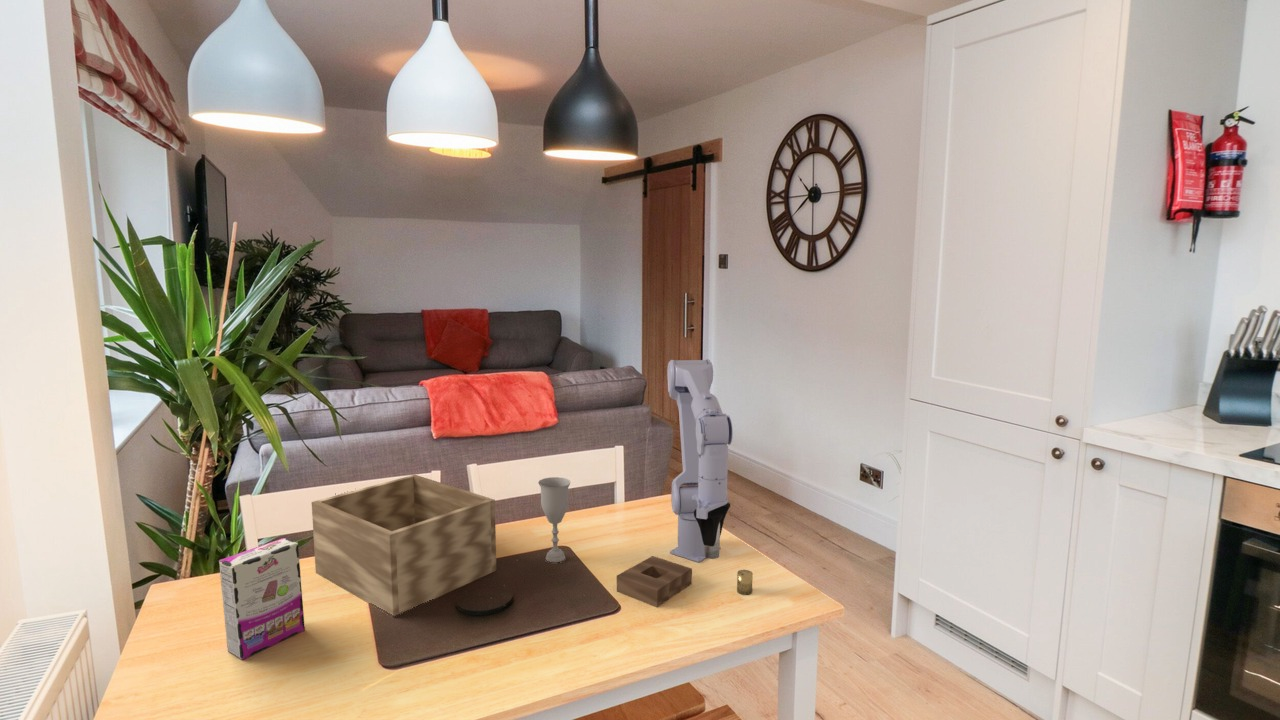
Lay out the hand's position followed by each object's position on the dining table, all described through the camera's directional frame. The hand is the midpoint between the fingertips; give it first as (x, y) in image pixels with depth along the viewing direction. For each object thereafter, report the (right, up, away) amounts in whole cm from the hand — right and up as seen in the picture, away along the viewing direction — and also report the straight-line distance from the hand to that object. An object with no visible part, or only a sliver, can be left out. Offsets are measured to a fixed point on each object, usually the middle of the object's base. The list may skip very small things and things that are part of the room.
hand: (711, 541), depth 134 cm
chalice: (-33, -8, +14) cm, 37 cm away
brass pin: (+7, -10, 0) cm, 12 cm away
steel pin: (0, -3, 0) cm, 3 cm away
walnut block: (-11, -10, +1) cm, 15 cm away
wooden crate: (-63, -9, +7) cm, 65 cm away
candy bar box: (-79, -12, -19) cm, 82 cm away
